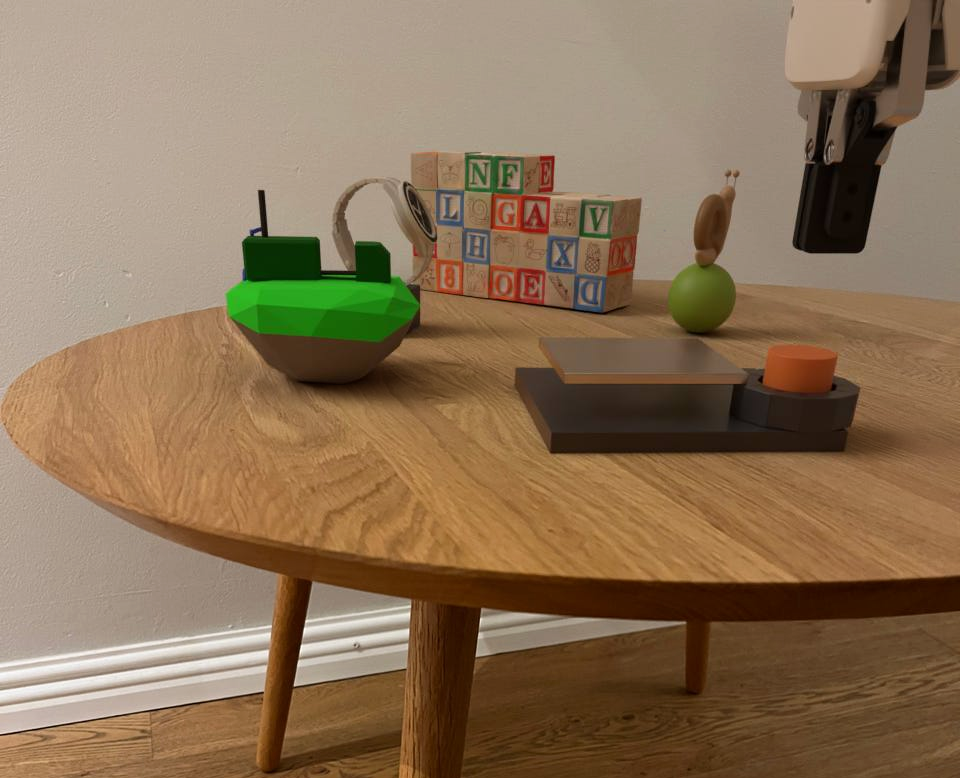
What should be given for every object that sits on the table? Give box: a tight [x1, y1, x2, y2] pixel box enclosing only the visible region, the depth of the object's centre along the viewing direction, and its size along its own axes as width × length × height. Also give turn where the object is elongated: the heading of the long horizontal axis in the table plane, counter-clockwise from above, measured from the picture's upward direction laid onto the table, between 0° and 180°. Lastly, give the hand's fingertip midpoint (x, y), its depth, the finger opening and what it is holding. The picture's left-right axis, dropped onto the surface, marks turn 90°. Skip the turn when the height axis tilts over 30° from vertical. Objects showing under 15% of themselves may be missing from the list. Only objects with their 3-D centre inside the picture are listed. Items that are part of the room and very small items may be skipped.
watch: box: [331, 176, 437, 336], centre depth 72 cm, size 6×8×11 cm
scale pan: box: [538, 336, 749, 385], centre depth 53 cm, size 10×9×1 cm
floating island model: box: [225, 189, 421, 385], centre depth 58 cm, size 12×12×11 cm
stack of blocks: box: [410, 150, 643, 313], centre depth 87 cm, size 21×6×12 cm, turn 57°
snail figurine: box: [667, 169, 740, 334], centre depth 75 cm, size 5×6×12 cm
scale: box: [514, 367, 861, 455], centre depth 54 cm, size 17×14×3 cm
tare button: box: [762, 344, 839, 393], centre depth 50 cm, size 4×4×2 cm
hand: (827, 250), depth 48 cm, fingers closed
